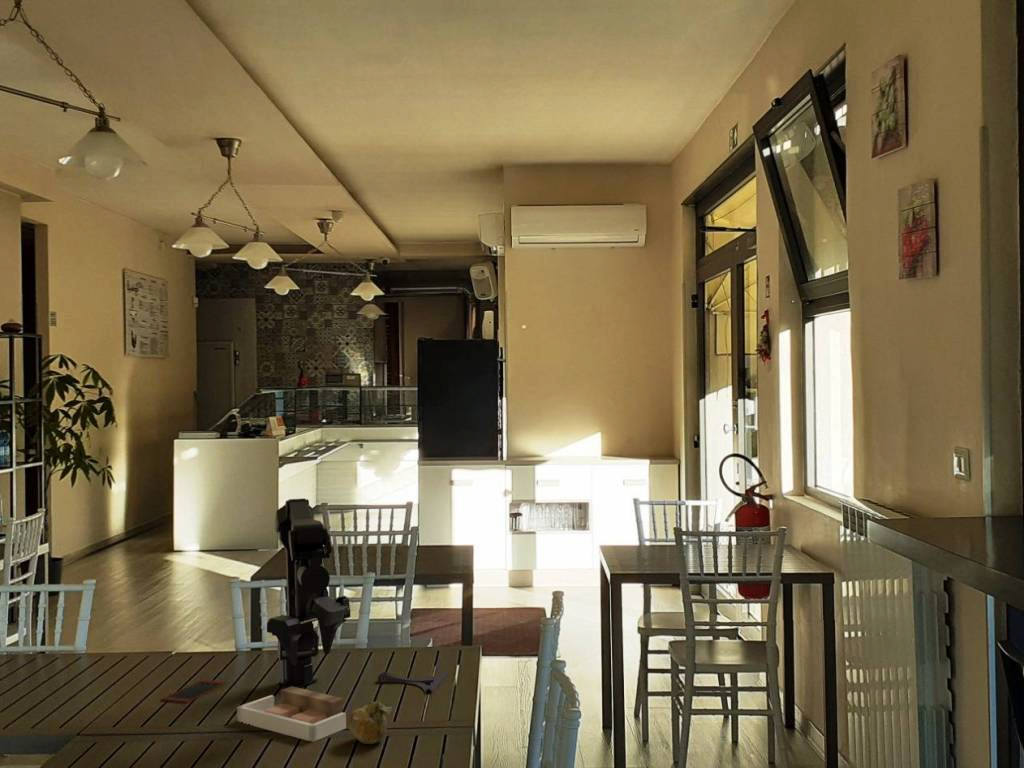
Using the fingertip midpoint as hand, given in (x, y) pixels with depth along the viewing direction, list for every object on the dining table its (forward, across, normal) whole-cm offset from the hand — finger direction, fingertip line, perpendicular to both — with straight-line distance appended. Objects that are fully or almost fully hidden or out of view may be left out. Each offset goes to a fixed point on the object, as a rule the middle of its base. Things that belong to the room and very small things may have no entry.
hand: (310, 659), depth 210 cm
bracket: (+13, +29, -2) cm, 31 cm away
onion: (+12, -4, -20) cm, 24 cm away
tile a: (+12, -4, +4) cm, 14 cm away
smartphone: (+12, -2, +35) cm, 37 cm away
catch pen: (+12, -6, 0) cm, 13 cm away
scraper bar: (+12, 0, 0) cm, 12 cm away
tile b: (+12, -4, -4) cm, 13 cm away
